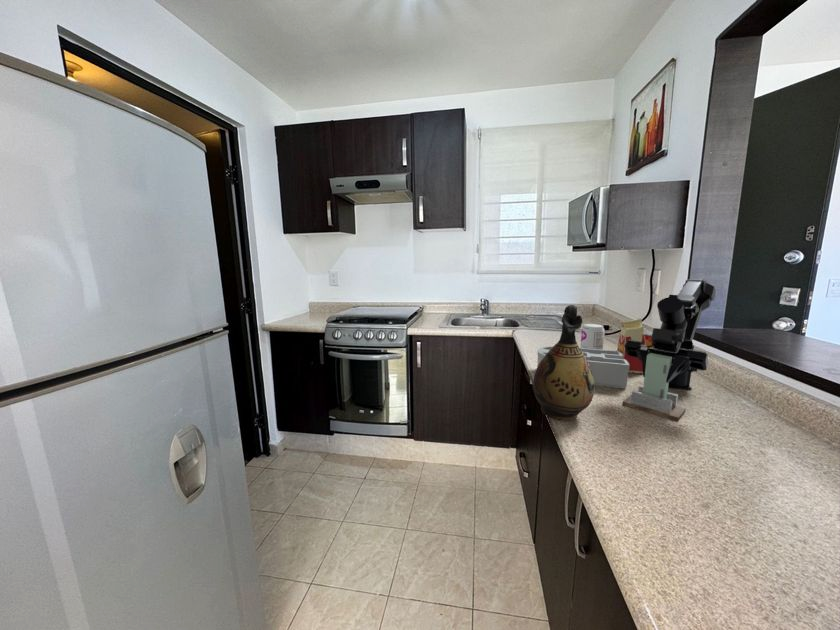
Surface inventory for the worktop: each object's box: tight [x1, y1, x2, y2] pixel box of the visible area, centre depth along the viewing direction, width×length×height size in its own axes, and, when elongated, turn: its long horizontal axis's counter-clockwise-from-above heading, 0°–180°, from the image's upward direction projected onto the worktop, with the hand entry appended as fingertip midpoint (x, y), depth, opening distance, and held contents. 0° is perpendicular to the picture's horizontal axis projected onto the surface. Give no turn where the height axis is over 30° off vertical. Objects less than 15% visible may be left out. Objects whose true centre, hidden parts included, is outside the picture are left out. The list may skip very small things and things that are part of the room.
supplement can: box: [579, 323, 606, 350], centre depth 132 cm, size 8×8×15 cm
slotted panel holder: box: [621, 385, 687, 422], centre depth 91 cm, size 13×8×4 cm, turn 40°
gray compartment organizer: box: [536, 345, 630, 390], centre depth 116 cm, size 17×28×9 cm, turn 68°
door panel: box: [642, 353, 672, 399], centre depth 90 cm, size 3×5×13 cm, turn 40°
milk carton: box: [616, 317, 646, 375], centre depth 122 cm, size 9×9×20 cm
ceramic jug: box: [532, 304, 595, 421], centre depth 88 cm, size 17×15×30 cm
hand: (655, 379), depth 89 cm, fingers closed on door panel, 5 cm apart
